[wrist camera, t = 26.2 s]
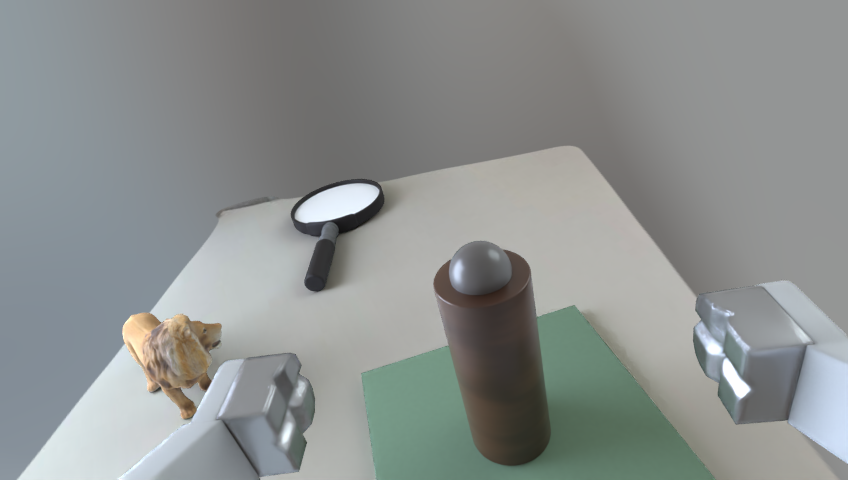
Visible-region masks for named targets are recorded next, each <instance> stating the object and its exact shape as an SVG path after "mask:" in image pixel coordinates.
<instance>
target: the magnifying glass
mask: <svg viewBox="0 0 848 480" xmlns="http://www.w3.org/2000/svg"><path fill="white" fill-rule="evenodd" d="M383 204H384V195H383V191H382V188H381V186H380V185H379V184H378V183H377V182H375V181H372V180H367V179H352V180H345V181H341V182H336V183H333V184H330V185H327V186H324V187H321V188H319V189H317V190H315V191H313V192H311V193H309V194H308V195H306V196H305V197H303V198H302V199H301V200H299V201H298V202H297V203H296V204H295V206H294V207H293V209H292V211H291V218H292V220H293V223H294V225H295V227H296V229H297V230H299V231H300V232H302V233H305V234H310V235H312V236H320V238H319V241H318V242H317V244H316V247H315V250H314V253H313V256H312V259H311V262H310V265H309V268H308V271H307V274H306V277H305V280H304V283H305V286H306V287H307V288H308V289H309V290H311V291H320V290H322V289H323V288H324V287H325V284H326V280H327V277H328V273H329V269H330V265H331V262H332V258H333V254H334V250H335V243H336V237H337V236H338V233H342V232H346V231H348V230H351V229H354V228H356V227H357V226H358V225H359V224H361V223H363V222H365V221H366V220H368V219H370V218H371V217H372V216H374V215H375V214H376V213H377V212H378V211H379V210H380V209H381V207H382V206H383Z"/></svg>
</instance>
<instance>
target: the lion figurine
mask: <svg viewBox="0 0 848 480" xmlns="http://www.w3.org/2000/svg"><path fill="white" fill-rule="evenodd" d="M221 327H222V326H221V324H219V323H215V324H204V323H202V322H200V321H190V320H189V318H188V316H186V315H183V314H178V315H175V316H174V317H173V318H171V319H166V320H165V321H163V322H162V323H161V322H160V321H159V320H158V319H157V318H156V317H155V316H154V315H152V314H150V313H140V314H136V315H132V316H130V318H129V319H128V320H127V321H126V322H125V324H124V326H123V339H124V342H125V344H126V346H127V348H128V350H129V352H130V354H131V355H132V357H133V358H134V359H135V361H136V362H137V363H138V364H139V365H140V366H141V367H142V369H143V371H144V373H145V375H146V378H147V382H148V386H147V389H148V391H149V392H154V391H155V390H157V389H158V388H160V386H161V388H162V390H163V392H164V393H165V394H166V395H167V396H168V397H169V398H170V399H171V400H172V401H173V402H174V403H175V404H176V405H177V406H178V407H179V409H180V411H181V417H182V418H183V419H188V418H190V417H192V416H193V415H194V414H195V413H196V411H197V409H196V407H195V406H194V402H193V401H191V400H190V399H188V398H187V397H186V396H185V395H184V394H183V392H182V390H181V387H182V388H191V387H192V386H193V385H194V384H196V383H197V382H198V385H199V387H200V389H201V390H202V391H205V392H207V390H208V388H209V386H210V384H211V382H212V380H210V379H209V377H208V375H207V373H206V372H207V369H208V368H209V365H210V364H211V362H212V358H211V355H210V353H209V351H210V350H211V349H216V348H219V347H221V341H220V339H221Z"/></svg>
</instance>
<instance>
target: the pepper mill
mask: <svg viewBox="0 0 848 480" xmlns="http://www.w3.org/2000/svg"><path fill="white" fill-rule="evenodd" d="M433 285H434V291H435V295H436V299H437V302H438V306H439V310H440V314H441V318H442V322H443V326H444V330H445V333H446V337H447V341H448V345H449V349H450V353H451V357H452V361H453V365H454V368H455V372H456V376H457V380H458V384H459V388H460V392H461V396H462V399H463V403H464V407H465V411H466V415H467V419H468V423H469V427H470V431H471V434H472V438H473V442H474V444H475V446H476V448H477V449H478V451H479V452H480V453H481V454H482V455H483V456H484V457H485V458H487V459H488V460H490V461H492V462H494V463H497V464H501V465H507V466H516V465H522V464H525V463H528V462H530V461H532V460H534V459H536V458H537V457H538V456H539V455H540V454H541V453H542V452H543V451H544V450H545V448H546V447H547V445H548V443H549V440H550V436H551V426H550V419H549V411H548V403H547V395H546V387H545V379H544V371H543V364H542V356H541V348H540V340H539V332H538V324H537V316H536V309H535V301H534V293H533V285H532V277H531V269H530V267H529V265H528V263H527V262H526V261H525V259H524V258H522V257H521V256H519V255H518V254H516V253H513V252H511V251H507V250H503V249H501V248H500V247H499V246H497V245H495V244H493V243H490V242H487V241H474V242H470V243H468V244H466V245H464V246H462V247H461V248H460V249H459V250H458V251H457V252H456V253H455V254H454V256H453V258H452V259H451V260H449V261H448V262H447V263H445V264H444V265H443V266H442V267H441V268H440V269H439V271H438V272H437V274H436V276H435V278H434V284H433Z"/></svg>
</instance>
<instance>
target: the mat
mask: <svg viewBox="0 0 848 480" xmlns="http://www.w3.org/2000/svg"><path fill="white" fill-rule="evenodd" d="M537 324H538V332H539V340H540V348H541V356H542V364H543V371H544V379H545V387H546V395H547V403H548V411H549V419H550V426H551V436H550V440H549V443H548V445H547V447H546V448H545V450H544V451H543V452H542V453H541V454H540V455H539V456H538V457H537V458H536V459H534V460H532V461H530V462H528V463H525V464H522V465H516V466H507V465H501V464H497V463H494V462H492V461H490V460H488V459H487V458H485V457H484V456H483V455H482V454H481V453H480V452H479V451H478V449H477V448H476V446H475V444H474V442H473V438H472V434H471V431H470V427H469V423H468V419H467V415H466V411H465V407H464V403H463V399H462V396H461V392H460V388H459V384H458V380H457V376H456V372H455V368H454V365H453V361H452V357H451V353H450V349H449V346H445V347H442V348H439V349H436V350H433V351H430V352H427V353H424V354H420V355H417V356H414V357H411V358H408V359H405V360H402V361H399V362H396V363H392V364H389V365H386V366H383V367H380V368H377V369H374V370H371V371H367V372H364V373H362V374H361V375H362V382H363V389H364V396H365V403H366V410H367V417H368V424H369V431H370V438H371V445H372V452H373V459H374V466H375V473H376V480H716V479H715V478H714V477H713V476H712V474H711V473H710V472H709V471H708V469H707V468H706V467H705V466H704V464H703V463H702V462H701V461H700V460H699V458H698V457H697V456H696V455H695V453H694V452H693V451H692V450H691V448H690V447H689V446H688V445H687V443H686V442H685V441H684V440H683V439H682V437H681V436H680V435H679V434H678V432H677V431H676V430H675V429H674V427H673V426H672V425H671V424H670V423H669V421H668V420H667V419H666V418H665V416H664V415H663V414H662V413H661V411H660V410H659V409H658V408H657V406H656V405H655V404H654V403H653V402H652V400H651V399H650V398H649V397H648V395H647V394H646V393H645V392H644V390H643V389H642V388H641V387H640V386H639V384H638V383H637V382H636V381H635V379H634V378H633V377H632V376H631V374H630V373H629V372H628V371H627V369H626V368H625V367H624V366H623V365H622V363H621V362H620V361H619V360H618V358H617V357H616V356H615V355H614V353H613V352H612V351H611V350H610V349H609V347H608V346H607V345H606V344H605V342H604V341H603V340H602V339H601V337H600V336H599V335H598V334H597V333H596V331H595V330H594V329H593V328H592V326H591V325H590V324H589V323H588V321H587V320H586V319H585V318H584V316H583V315H582V314H581V313H580V312H579V310H578V309H577V308H576V307H575V305H573V306H570V307H567V308H564V309H561V310H558V311H555V312H552V313H548V314H545V315H542V316H539V317H537Z"/></svg>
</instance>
